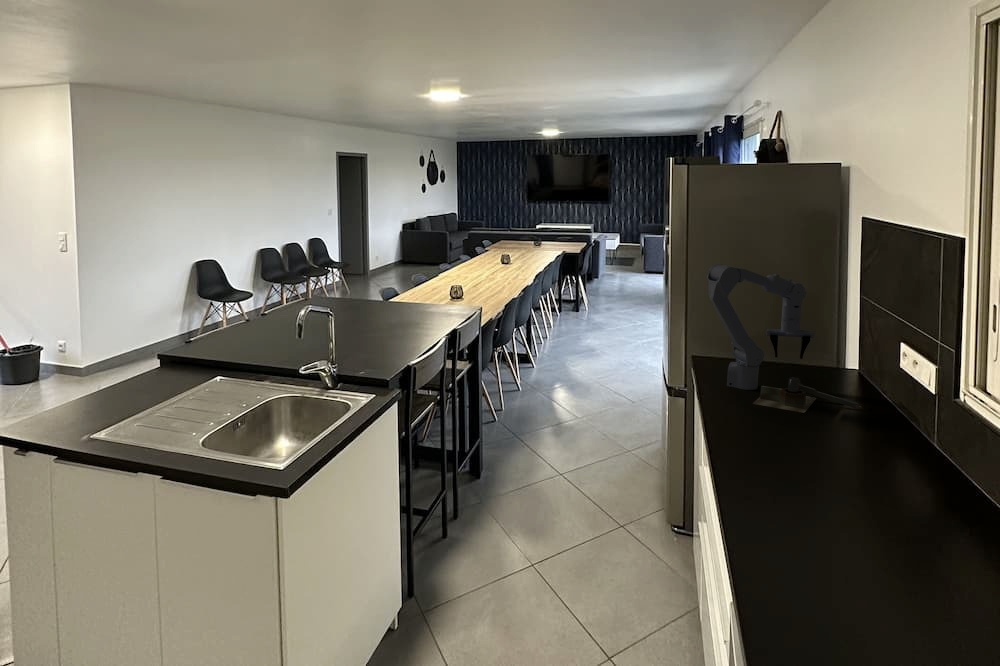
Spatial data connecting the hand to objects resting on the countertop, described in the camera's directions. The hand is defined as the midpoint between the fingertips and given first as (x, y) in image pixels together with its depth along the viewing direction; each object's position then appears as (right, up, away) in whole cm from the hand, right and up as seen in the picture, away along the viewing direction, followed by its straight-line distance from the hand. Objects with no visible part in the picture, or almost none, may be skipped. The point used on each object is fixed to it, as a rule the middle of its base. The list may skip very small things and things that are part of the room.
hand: (788, 357), depth 218 cm
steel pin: (-7, -14, -18) cm, 23 cm away
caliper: (+4, -14, -17) cm, 22 cm away
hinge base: (-8, -14, -15) cm, 22 cm away
